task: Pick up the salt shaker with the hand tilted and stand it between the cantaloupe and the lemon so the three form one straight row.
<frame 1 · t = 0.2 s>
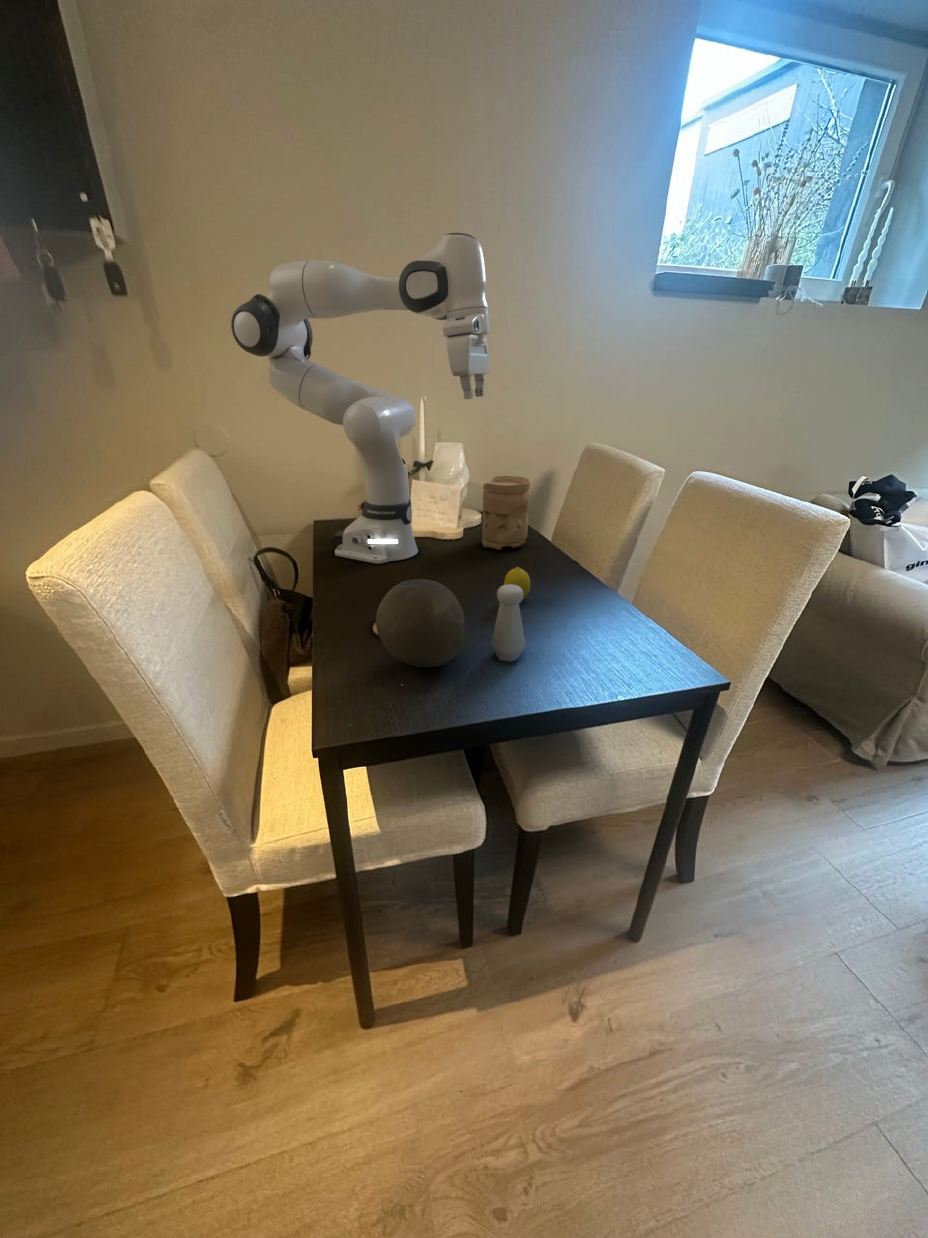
hand: (474, 397, 112), 39 cm above the table, tool pointing down, fingers open, 8 cm apart
container: (504, 545, 141), on the table
salt shaker: (507, 656, 87), on the table
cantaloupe: (423, 665, 85), on the table
cork coaster: (396, 627, 97), on the table
lemon: (516, 603, 107), on the table
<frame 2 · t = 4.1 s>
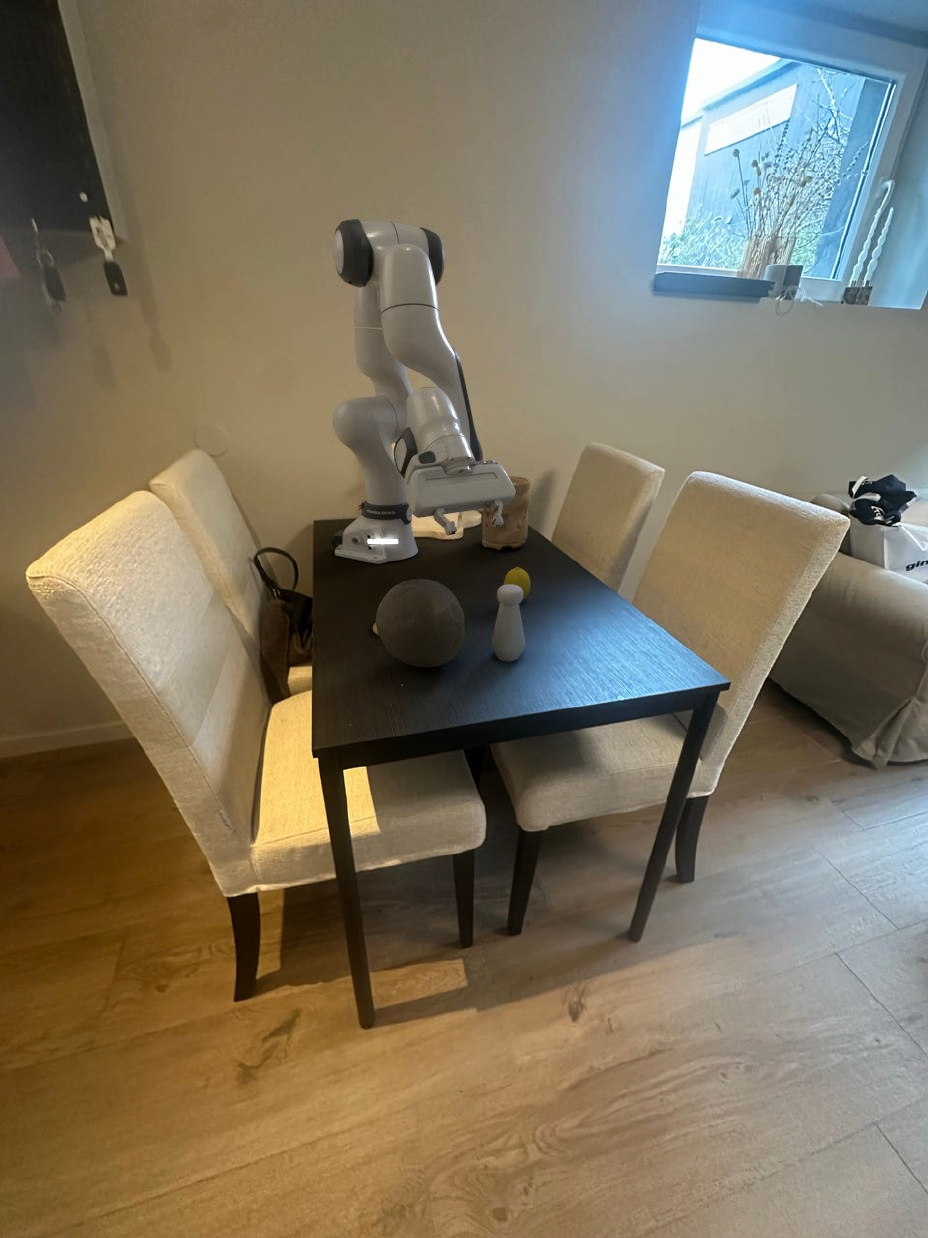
hand: (476, 529, 88), 19 cm above the table, tool tilted 45°, fingers open, 8 cm apart
nothing on the table moved.
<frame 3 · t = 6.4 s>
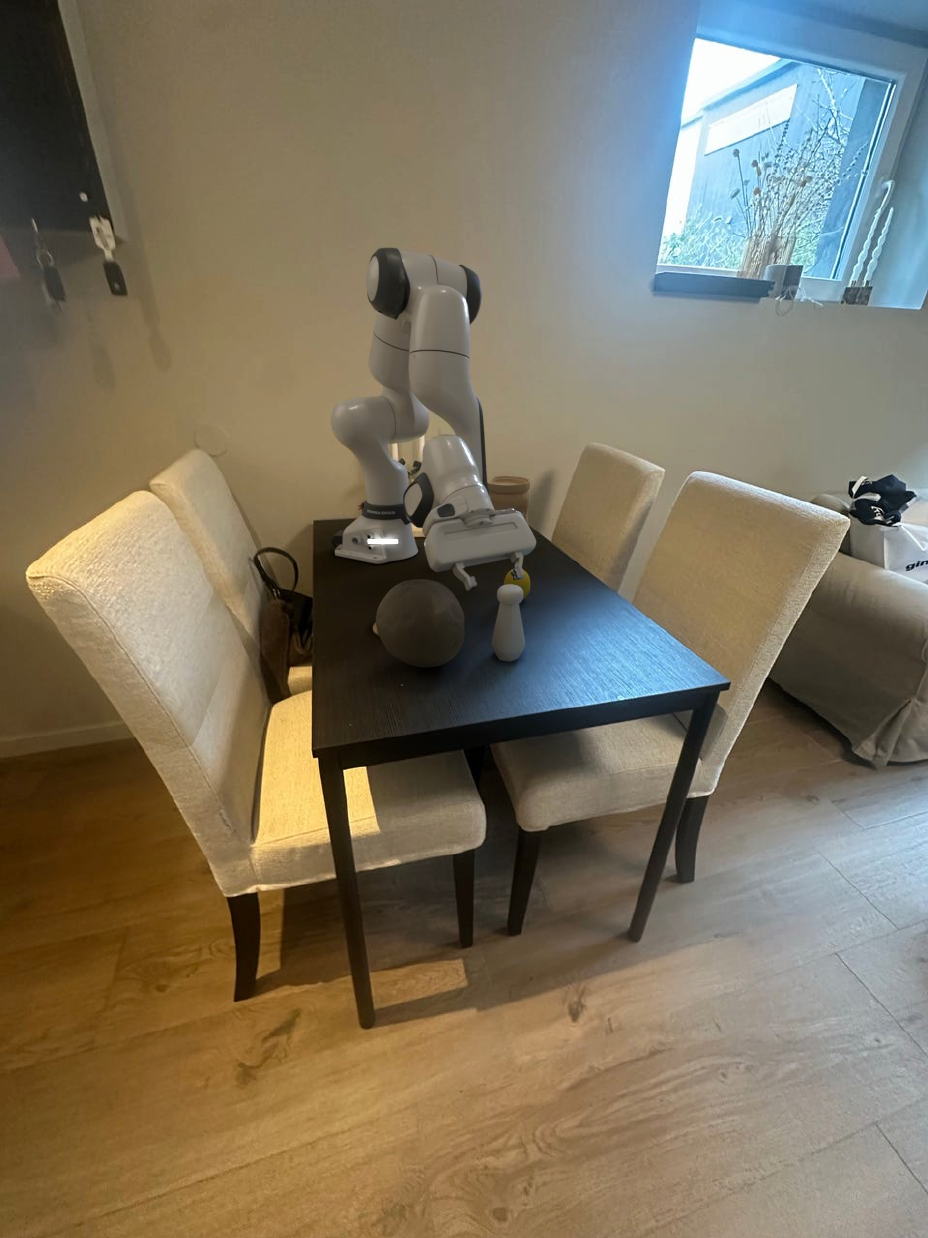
hand: (496, 583, 86), 12 cm above the table, tool tilted 45°, fingers open, 8 cm apart
nothing on the table moved.
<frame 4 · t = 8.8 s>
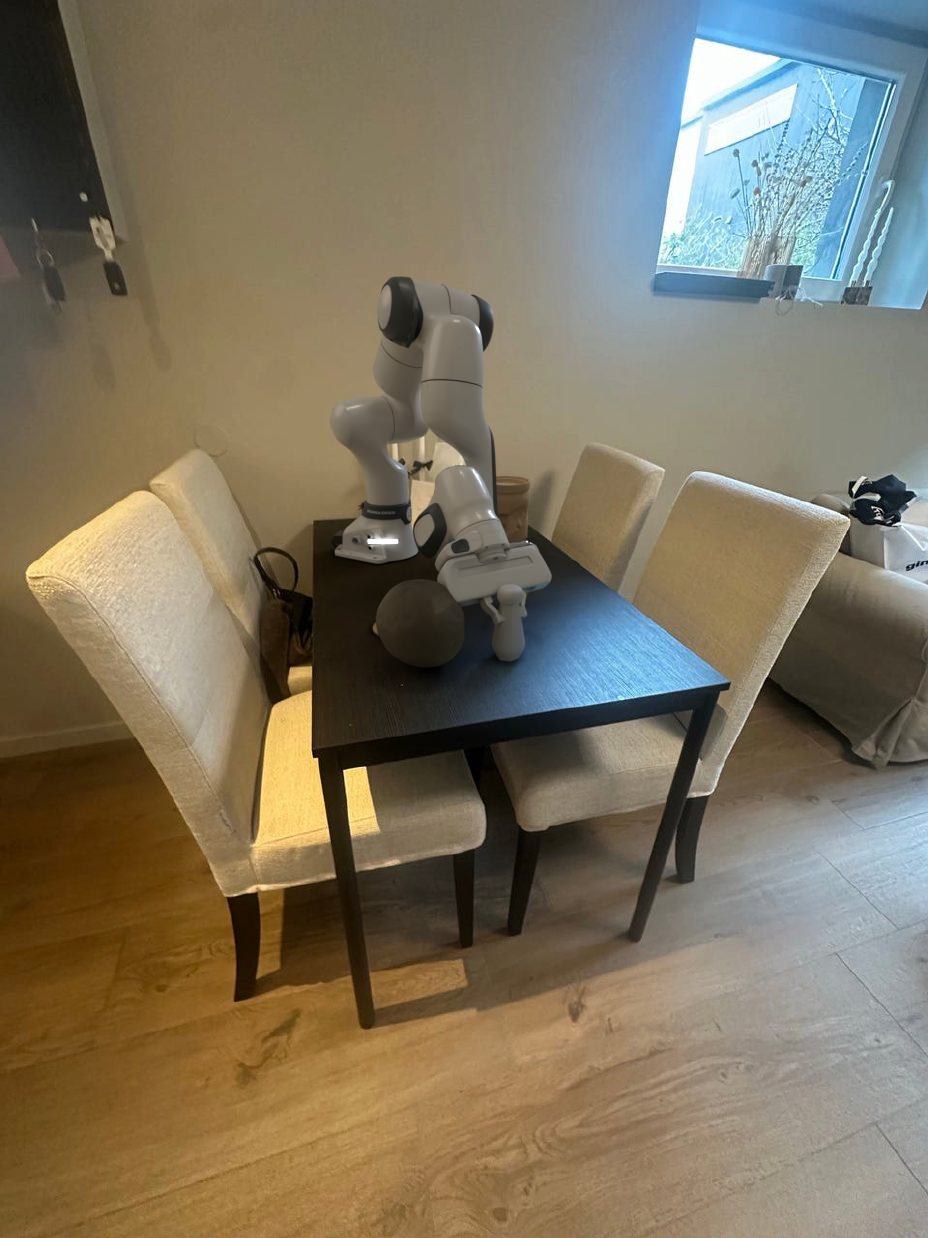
hand: (511, 620, 83), 7 cm above the table, tool tilted 45°, fingers closed on salt shaker, 3 cm apart
salt shaker: (507, 656, 87), on the table, touching gripper
everything else where it was.
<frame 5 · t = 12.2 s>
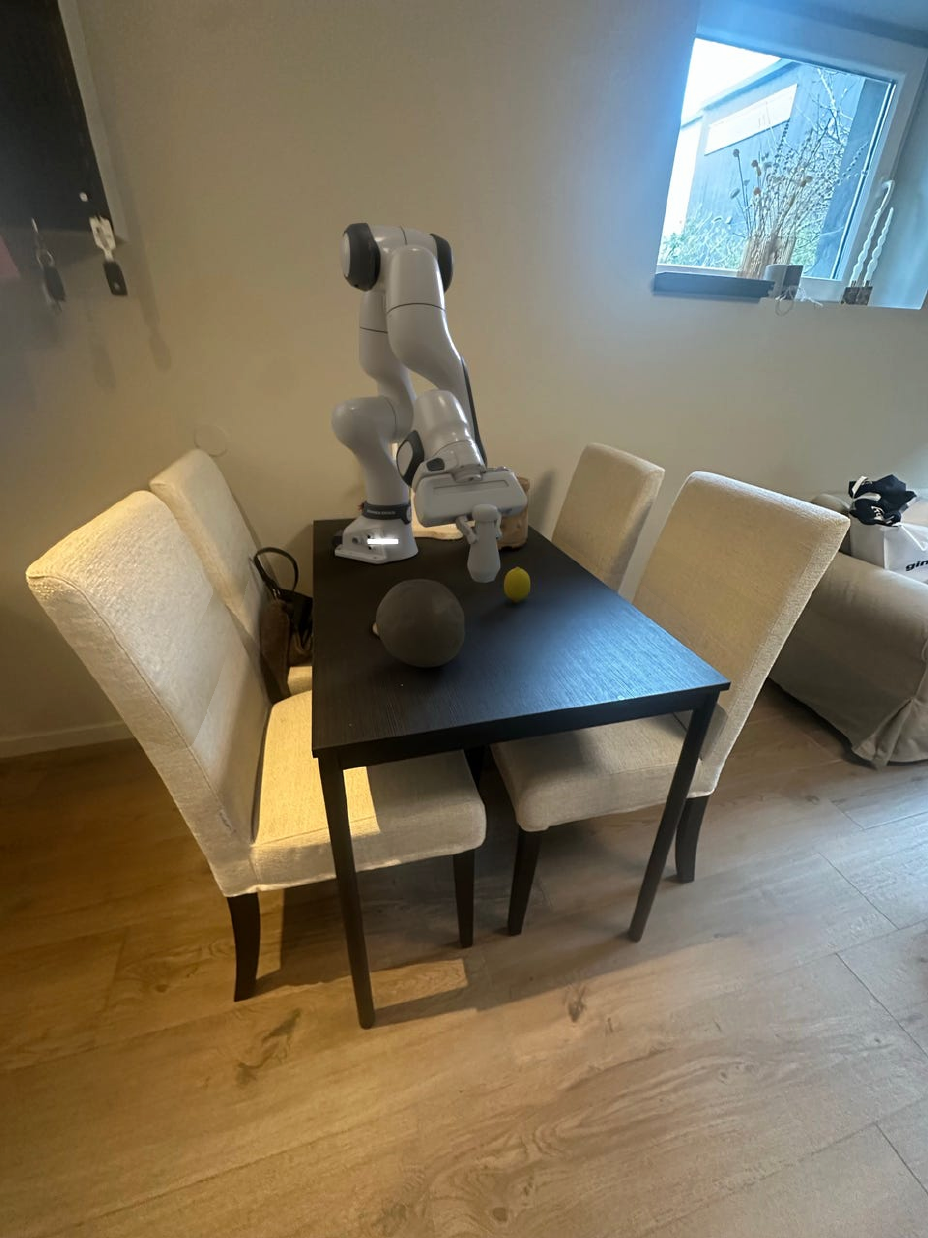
hand: (486, 540, 84), 19 cm above the table, tool tilted 45°, fingers closed on salt shaker, 3 cm apart
salt shaker: (483, 579, 88), point 11 cm above the table, touching gripper
everything else where it was.
when the fingers open (7 cm above the table, at t = 16.1 s): salt shaker stays where it is, on the table.
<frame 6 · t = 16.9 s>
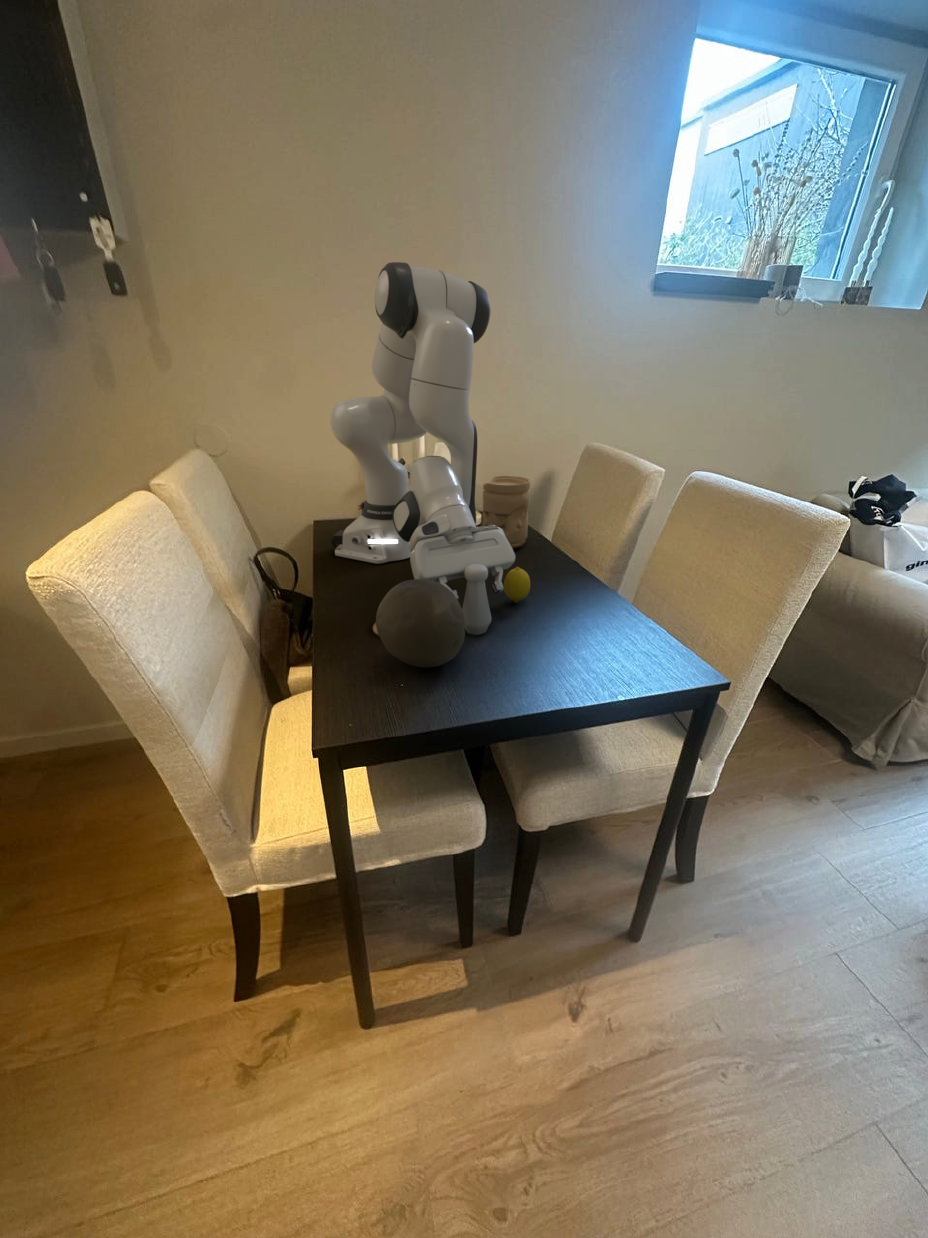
hand: (477, 596, 92), 7 cm above the table, tool tilted 45°, fingers open, 8 cm apart
salt shaker: (476, 630, 96), on the table
everything else where it was.
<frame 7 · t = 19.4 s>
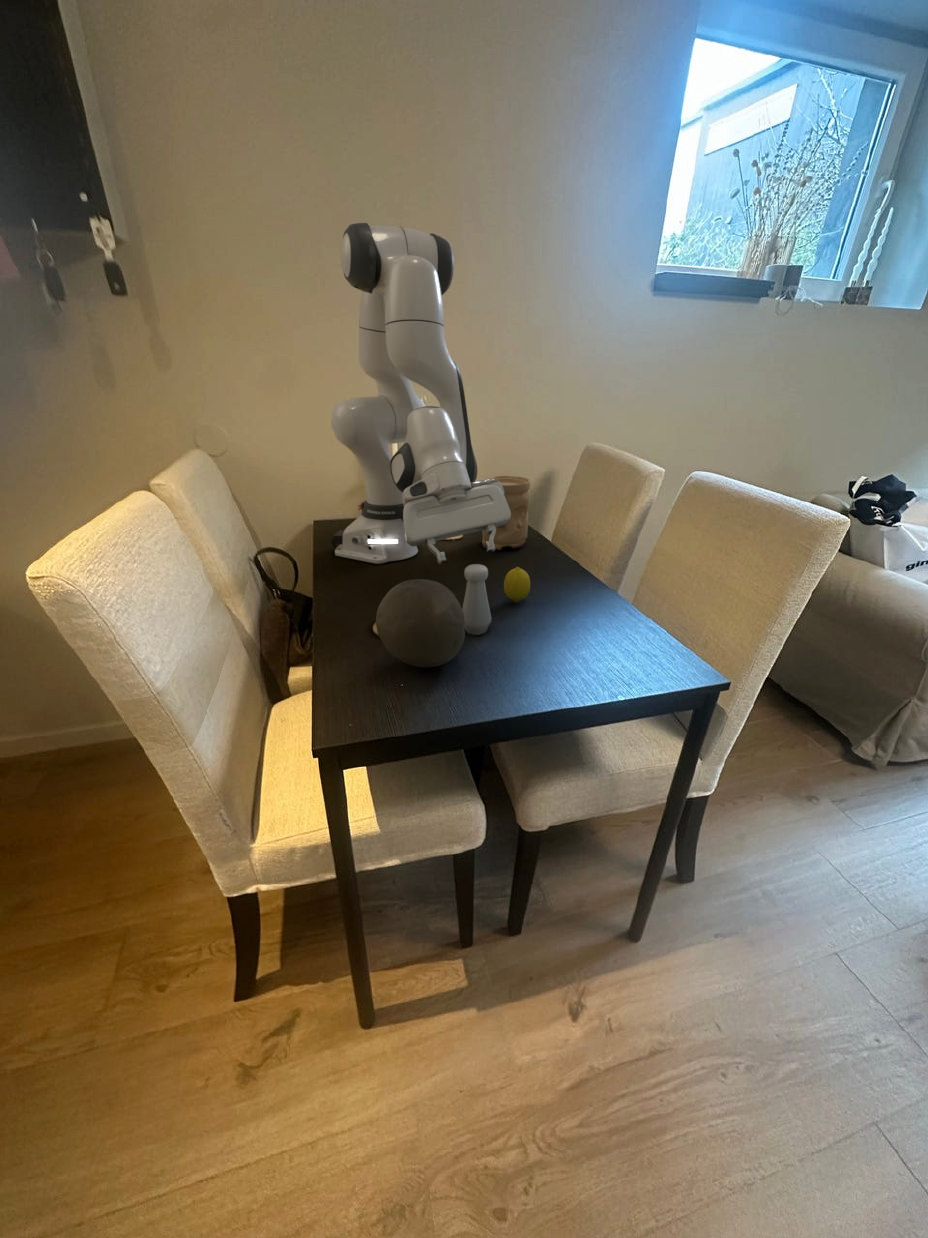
hand: (467, 556, 92), 14 cm above the table, tool tilted 35°, fingers open, 8 cm apart
nothing on the table moved.
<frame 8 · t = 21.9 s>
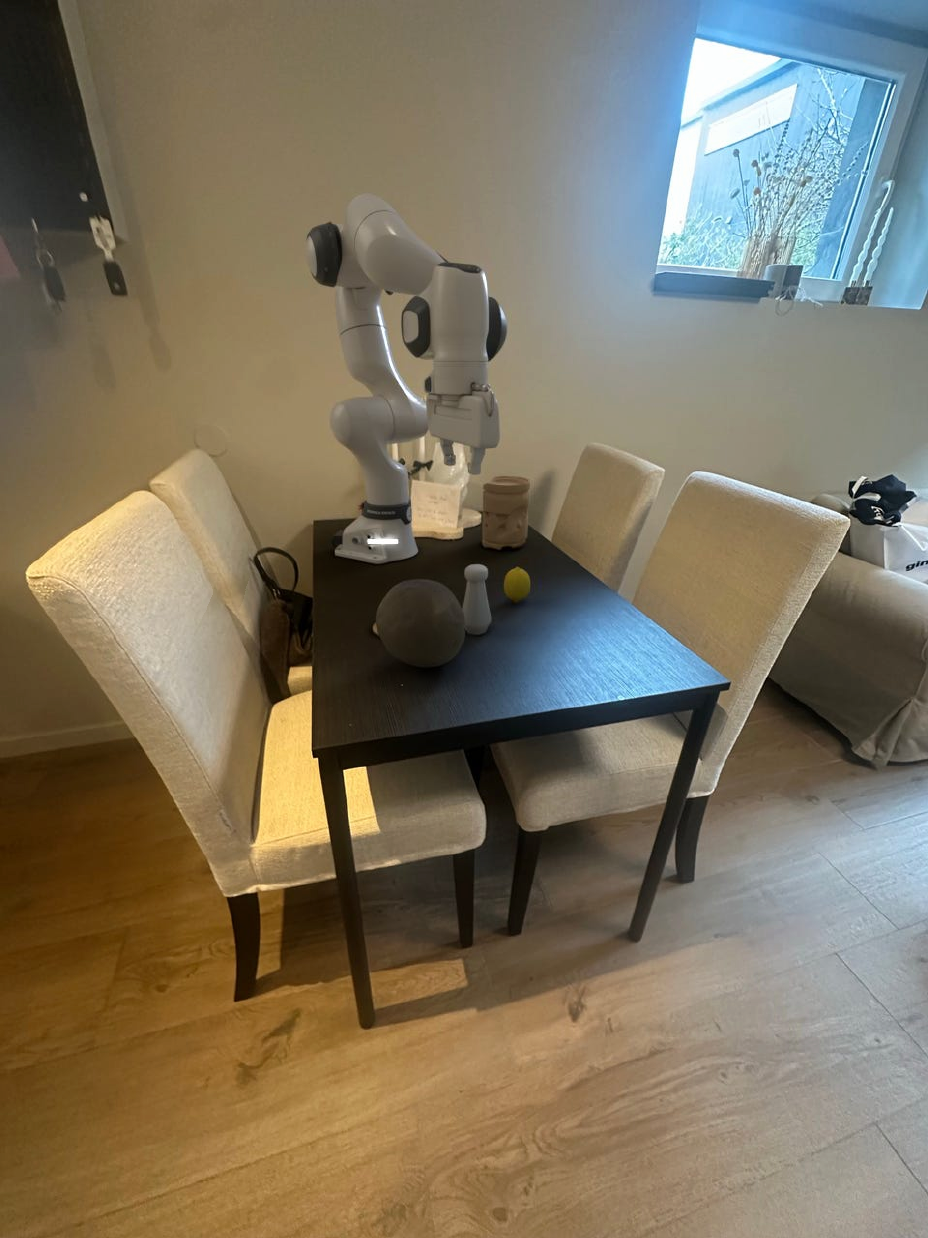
hand: (461, 469, 87), 29 cm above the table, tool pointing down, fingers open, 8 cm apart
nothing on the table moved.
at the end: salt shaker 0.1 cm from the target spot on the table beside the lemon, on the table; salt shaker tilted 0°; the gripper is holding nothing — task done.
